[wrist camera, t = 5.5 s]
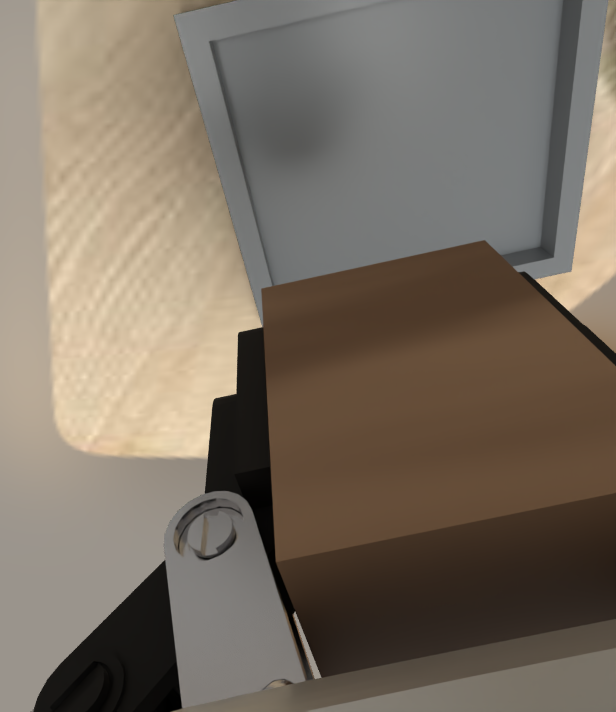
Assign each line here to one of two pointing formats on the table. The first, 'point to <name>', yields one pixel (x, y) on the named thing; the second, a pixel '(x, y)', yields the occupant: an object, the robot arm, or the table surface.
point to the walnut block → (436, 459)
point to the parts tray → (396, 127)
